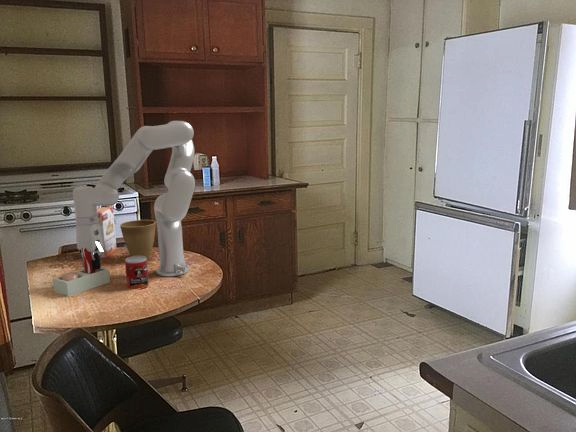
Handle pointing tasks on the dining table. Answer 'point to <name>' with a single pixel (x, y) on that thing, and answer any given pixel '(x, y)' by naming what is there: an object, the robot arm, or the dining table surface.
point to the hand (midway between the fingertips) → (92, 267)
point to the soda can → (88, 261)
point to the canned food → (136, 272)
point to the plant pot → (139, 236)
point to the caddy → (81, 282)
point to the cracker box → (107, 230)
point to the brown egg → (70, 276)
